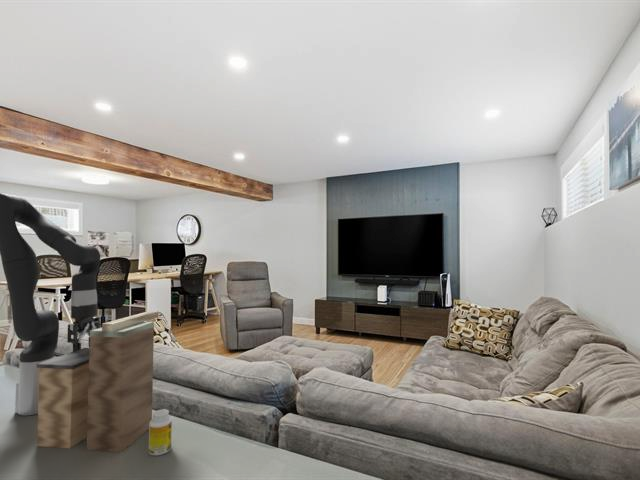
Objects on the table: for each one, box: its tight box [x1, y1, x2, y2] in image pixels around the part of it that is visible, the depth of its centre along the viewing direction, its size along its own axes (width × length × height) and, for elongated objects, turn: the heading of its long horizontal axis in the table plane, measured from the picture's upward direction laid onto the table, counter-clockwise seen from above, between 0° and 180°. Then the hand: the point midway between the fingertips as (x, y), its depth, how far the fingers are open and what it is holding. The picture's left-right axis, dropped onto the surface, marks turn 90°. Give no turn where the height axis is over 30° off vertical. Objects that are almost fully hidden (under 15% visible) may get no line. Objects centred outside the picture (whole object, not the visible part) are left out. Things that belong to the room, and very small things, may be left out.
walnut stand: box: [86, 321, 155, 453], centre depth 102 cm, size 10×14×32 cm
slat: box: [101, 310, 159, 331], centre depth 107 cm, size 3×22×2 cm, turn 173°
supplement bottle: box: [148, 408, 173, 456], centre depth 95 cm, size 6×6×10 cm
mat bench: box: [36, 347, 90, 449], centre depth 105 cm, size 11×17×22 cm, turn 173°
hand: (84, 350), depth 120 cm, fingers open, 8 cm apart
